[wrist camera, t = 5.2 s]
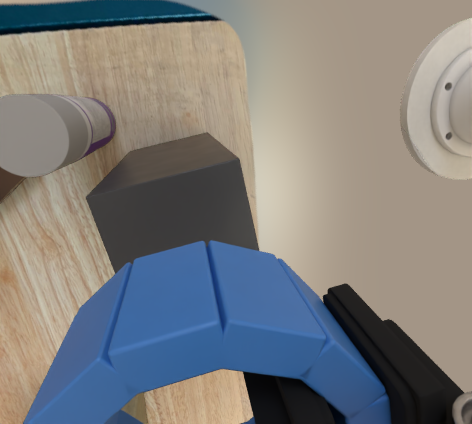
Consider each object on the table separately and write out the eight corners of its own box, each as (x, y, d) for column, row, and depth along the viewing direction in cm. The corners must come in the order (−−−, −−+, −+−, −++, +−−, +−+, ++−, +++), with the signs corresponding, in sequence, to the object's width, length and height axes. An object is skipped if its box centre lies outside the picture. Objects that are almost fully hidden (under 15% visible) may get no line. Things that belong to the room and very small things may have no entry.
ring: (207, 185, 9) (227, 238, 5) (370, 346, 11) (455, 454, 8) (7, 376, 9) (-92, 533, 6) (202, 488, 12) (212, 645, 8)
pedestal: (207, 132, 35) (239, 158, 18) (225, 204, 37) (267, 287, 20) (129, 151, 34) (85, 197, 17) (153, 223, 36) (135, 326, 19)
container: (74, 152, 33) (-2, 188, 19) (56, 103, 31) (-41, 101, 17) (122, 142, 33) (83, 169, 19) (107, 92, 32) (53, 83, 18)
